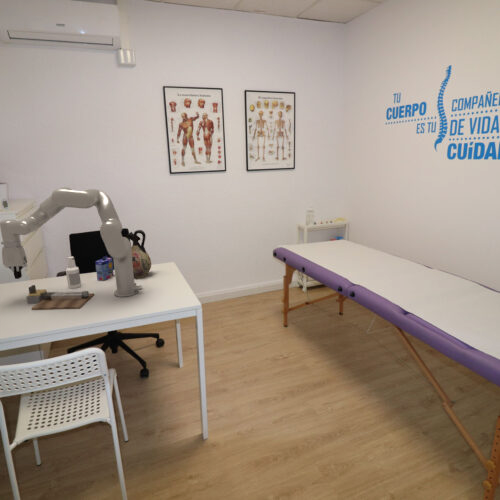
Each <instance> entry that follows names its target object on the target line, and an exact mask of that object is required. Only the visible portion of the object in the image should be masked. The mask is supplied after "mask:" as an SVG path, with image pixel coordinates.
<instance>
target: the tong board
mask: <svg viewBox="0 0 500 500" xmlns="http://www.w3.org/2000/svg"><path fill="white" fill-rule="evenodd" d="M88 293H89V298H86V299H77V300H44V299H43V300H42V301H40V302H39V303H38V304H35V305H33V306H32V307H31V311H37V310H39V311H40V310H41V311H42V310H43V311H44V310H77V309H81V308H82V307H84V306H85V304H86V303H88V302H89V301H90V300H91V299H92V298H93V297H94V296H95V293H93V292H92V293H90V292H88Z"/></svg>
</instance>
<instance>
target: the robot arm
mask: <svg viewBox="0 0 500 500" xmlns="http://www.w3.org/2000/svg"><path fill="white" fill-rule="evenodd" d="M93 207H95V208H96V209H97V214H98V216H99V218H100V221H101V225H100V228H99V232H100V237H101V239H102V241H103V243H104V247H105V249H106V251H107V253H108V255H109V256H110V258H112V261H113V271H114V277H115V285H116V290H115V291H114V293H113V295H114V296H116V297H120V298H125V297H126V298H128V297H131V296H135V295H136V294H137V293H138V292H139V291H143V289H144V288H143V286H142V285H138V284H137V282H135V278H134V274H133V264H132V250H131V247H132V244H131V241H130V239H127V238H125V237H126V236H123V234H122V231H123V223H122V222H121V220H120V217H119V215H118V212H117V211H116V210H117V209H116V208H115V205H114V203H113V201H112V200H111V198H110V197H109V195H108V194H107V193H106V192H104V191H103V190H99V189H95V188H94V189H93V188H91V189H89V188H88V189H86V190H73V189H72V188H70V187H67V186H64V187H60V188H56V189H54V190H53V191H52V193H51V194H50V196H48V197H47V198H46V199H45V200H44V201H41V203H40V204H39V207H38V208H37V209H36V210H35V211H34V212H33V213H31V214H29V216H27V217H25V218H22V219H20V220H16V219H3V220H1V221H0V232H1V237H2V241H1V242H0V244H1V245H3V246H2V248H1V258H2V259H1V260H2V265H3V266H4V267H5V268H7V269H9V270H11V271H12V273H13V275H14V276H13V277H14V279H15V280H19V279H21V278H22V275H23V273H22V270H23V269H25V268H26V267H28V258H27V253H26V251H25V248H24V246H23V245H22V241H21V236H27V235H29V234H31V233H33V232H35V231H37V230H38V229H39V228H41V227H42V226H43V225H44V224H46V223H47V222H49V221H50V220H51V219H53V218H54V217H55V216H56V215H57V214H59V213H60V212H62V211H63V210H64V209H65V208H75V209H91V208H93Z"/></svg>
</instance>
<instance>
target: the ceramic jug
mask: <svg viewBox="0 0 500 500" xmlns="http://www.w3.org/2000/svg"><path fill="white" fill-rule="evenodd" d="M138 234H140V235H142V239H141V237H140V236H139V235H138ZM124 237H125V238H127V239H128V240H129V241H130V240H131V241H132V244H131V250H132V264H133V274H134V279H136V278H137V279H139V278H140V277H141V278H145V277H146V276H148V275H149V274H148V273H149V271H150V270H151V268H152V260H151V257H150V255H149V253H148V252H147V250H146V248H145V241H146V233H145V231H144V230H141V229H137V230H134V232H133V231H130V232H129V233H127V235H126V236H124ZM139 241H141V243H140V242H139ZM144 276H145V277H144Z"/></svg>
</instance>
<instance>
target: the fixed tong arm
mask: <svg viewBox="0 0 500 500" xmlns="http://www.w3.org/2000/svg"><path fill="white" fill-rule="evenodd" d="M82 292H83V291H57V292H56V291H54V292H53V291H51V292H48V291H47V294H82Z"/></svg>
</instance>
